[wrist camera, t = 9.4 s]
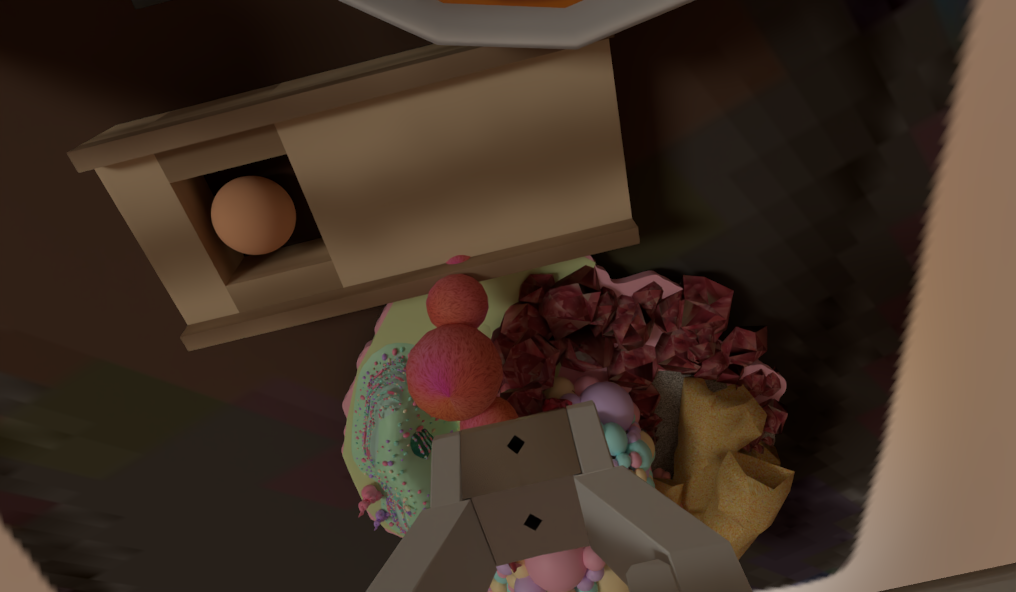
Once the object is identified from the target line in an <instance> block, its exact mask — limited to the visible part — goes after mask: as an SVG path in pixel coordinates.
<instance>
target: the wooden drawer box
mask: <svg viewBox="0 0 1016 592" xmlns="http://www.w3.org/2000/svg"><path fill="white" fill-rule="evenodd" d="M613 37H614V34H613V35H611V36H609V37H606V38H604V39H601V40H599V41H597V42H594V43H592V44H589V45H587V46H585V47H582V48H580V49H577V50H572V49H542V48H513V47H483V46H454V45H436V44H431V45H427V46H424V47H420V48H416V49H412V50H408V51H404V52H400V53H396V54H392V55H388V56H384V57H381V58H377V59H373V60H369V61H365V62H361V63H357V64H353V65H349V66H345V67H342V68H338V69H334V70H330V71H326V72H322V73H318V74H314V75H310V76H306V77H302V78H299V79H295V80H291V81H287V82H283V83H279V84H275V85H271V86H267V87H263V88H260V89H256V90H252V91H248V92H244V93H240V94H236V95H232V96H228V97H224V98H220V99H217V100H213V101H209V102H205V103H201V104H197V105H193V106H189V107H185V108H181V109H177V110H174V111H170V112H166V113H162V114H158V115H154V116H150V117H146V118H142V119H138V120H135V121H131V122H127V123H123V124H119V125H116V126H114V127H112V128H110V129H108V130H107V131H105V132H103V133H101V134H99V135H98V136H96V137H94V138H92V139H91V140H89V141H87V142H85V143H83V144H82V145H80V146H78V147H76V148H74V149H73V150H71V151H69V152H67V155H68V156H69V158H70V160H71V161H72V163H73V164H74V166H75V168H76V169H77V171H78V173H80V172H84V171H88V170H92V169H95V171H96V173H97V174H98V176H99V178H100V179H101V181H102V183H103V184H104V186H105V188H106V189H107V191H108V193H109V194H110V196H111V198H112V199H113V201H114V203H115V204H116V206H117V208H118V209H119V211H120V213H121V214H122V216H123V218H124V219H125V221H126V223H127V224H128V226H129V228H130V229H131V231H132V233H133V234H134V236H135V238H136V239H137V241H138V243H139V244H140V246H141V248H142V249H143V251H144V253H145V254H146V256H147V258H148V259H149V261H150V263H151V264H152V266H153V268H154V269H155V271H156V273H157V274H158V276H159V278H160V279H161V281H162V283H163V284H164V286H165V288H166V289H167V291H168V293H169V294H170V296H171V298H172V299H173V301H174V303H175V304H176V306H177V308H178V309H179V311H180V313H181V314H182V316H183V318H184V319H185V321H186V323H187V324H188V326H187V327H186V329H185V330H184V332H183V333H182V335H181V336H180V338H181V340H182V342H183V343H184V345H185V346H186V348H187V350H188V351H192V350H196V349H200V348H204V347H208V346H213V345H217V344H221V343H225V342H229V341H233V340H238V339H242V338H246V337H250V336H254V335H259V334H263V333H267V332H271V331H275V330H279V329H284V328H288V327H292V326H296V325H300V324H305V323H309V322H313V321H317V320H321V319H325V318H330V317H334V316H338V315H342V314H346V313H351V312H355V311H359V310H363V309H367V308H371V307H376V306H380V305H384V304H388V303H392V302H396V301H401V300H405V299H409V298H413V297H417V296H422V295H426V294H428V293H429V291H430V289H431V288H432V287H433V286H434V285H435V283H436V282H437V281H438V280H440V279H442V278H444V277H445V276H447V275H451V274H464V275H468V276H471V277H473V278H474V279H476V280H477V281H478V282H480V281H484V280H488V279H493V278H497V277H501V276H505V275H509V274H513V273H518V272H522V271H526V270H530V269H534V268H539V267H543V266H547V265H551V264H555V263H559V262H564V261H568V260H572V259H576V258H580V257H585V256H589V255H593V254H597V253H601V252H605V251H610V250H614V249H618V248H622V247H626V246H630V245H635V244H639V243H640V239H639V231H638V226H637V225H636V223H635V222H634V220H633V219H632V214H631V206H630V199H629V191H628V183H627V175H626V168H625V160H624V152H623V144H622V137H621V129H620V121H619V113H618V106H617V98H616V90H615V83H614V75H613V67H612V59H611V52H610V44H609V38H613ZM284 154H287V155H288V158H289V160H290V162H291V165H292V167H293V170H294V172H295V174H296V177H297V179H298V181H299V184H300V186H301V188H302V191H303V193H304V195H305V198H306V200H307V203H308V205H309V207H310V210H311V212H312V214H313V217H314V219H315V221H316V224H317V226H318V229H319V231H320V233H321V236H322V238H318V239H314V240H310V241H306V242H302V243H298V244H294V245H290V246H286V247H281V248H278V249H277V250H275V251H273V252H270V253H267V254H261V255H249V256H245V257H244V255H243V253H241V252H238V251H236V250H234V249H232V248H231V247H229V246H228V245H226V244H225V243H224V242H223V241H222V240H221V239H220V237H219V236H218V235H217V233H216V231H215V229H214V227H213V224H212V219H211V208H212V203H213V200H214V196H213V194H212V192H211V190H210V188H209V186H208V184H207V182H206V180H205V178H204V176H203V175H205V174H209V173H213V172H217V171H221V170H225V169H229V168H233V167H237V166H241V165H245V164H249V163H253V162H257V161H261V160H265V159H269V158H273V157H277V156H280V155H284ZM456 255H466V256H470V258H469V259H468V260H466V261H464V262H461V263H458V264H447V263H446V262H447V261H448V260H449V259H450V258H452V257H454V256H456Z"/></svg>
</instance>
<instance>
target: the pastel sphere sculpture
mask: <svg viewBox="0 0 1016 592" xmlns="http://www.w3.org/2000/svg"><path fill="white" fill-rule="evenodd" d="M469 258H470V256H466V255H456V256H454V257H452V258H450V259H449V260H448V261H447V262H446V263H447V264H458V263H461V262H464V261H466V260H468V259H469ZM733 292H734V291H733V290H731V289H729V288H727V287H725V286H722V285H720V284H718V283H716V282H714V281H712V280H710V279H708V278H706V277H699V276H688V275H683V276H682V279H681V281H680V283H679V284H678V283H675V282H673V281H671V280H669V279H668V278H666V277H664V276H661V275H659V274H658V273H656V272H655V271H651V270H650V271H645V272H641V273H638V274H635V275H632V276H628V277H625V278H621V279H610V277H609V275H608V273H607V271H606V270H605V269H604V268H603V267H601V266H599V265H596V261H595V258H594V259H593V258H592V257H591V255H589V256H585V257H580V258H576V259H572V260H568V261H564V262H559V263H555V264H551V265H547V266H543V267H539V268H534V269H530V270H526V271H522V272H518V273H513V274H509V275H505V276H501V277H497V278H493V279H488V280H484V281H480V282H478V281H477V280H476V279H474V278H473V277H471V276H468V275H464V274H451V275H447V276H445V277H444V278H442V279H440V280H438V281H437V282H436V283H435V285H434V286H433V287H432V288H431V289H430V291H429V293H428V294H426V295H422V296H417V297H413V298H409V299H405V300H401V301H396V302H392V303H388V304H387V305H386V306H385V308H384V309H383V312H382V314H381V316H380V318H379V319H378V321H377V323H376V326H375V336H374V338H373V340H371V341H369V342H367V344H366V345H365V347H364V349H363V351H362V352H361V354H360V355H359V358H358V360H357V369H358V370H357V374H356V377H355V379H354V381H353V383H352V384H351V386H350V389H349V391H348V393H347V394H346V396H345V398H344V401H343V404H342V407H343V411H344V413H345V415H346V418H347V423H346V426H345V429H344V436H345V440H344V443H343V446H342V455H343V458H344V460H345V463H346V465H347V468H348V470H349V473H350V475H351V477H352V479H353V481H354V484H355V486H356V488H357V490H358V492H359V495H360V497H361V499H362V501H361V502H360V503H359V510H360V511H361V513H360V514H359V516H362V515H363V514H364V511H365V510H367V512H368V514H369V516H370V518H371V519H372V520H374V526H375V529H374V531H375V530H376V529H377V527H378V526H379V525H380V524H381V525H382V526H383V527H384V528H385V530H386V531H387V532H389V533H393V534H395V535H397V536H399V537H402V538H403V537H404V536H405V534H406V533H407V531H408V530H409V528H410V527H411V526H412V524H413V523H414V521H415V520H416V518H417V517H418V515H419V514H420V513H421V511H422V510H425V509H429V508H430V494H431V457H432V441H433V438H434V436H436V435H441V434H447V433H452V432H457V431H461V430H463V429H468V428H473V427H478V426H483V425H488V424H493V423H498V422H502V421H507V420H512V419H516V418H520V417H524V416H528V415H532V414H537V413H541V412H545V411H549V410H553V409H558V408H562V407H565V408H566V406H569V405H573V404H577V403H581V402H585V401H590V400H592V401H593V402H594V403H595V405H596V409H597V412H598V415H599V418H600V421H601V425H602V428H603V431H604V434H605V437H606V441H607V444H608V447H609V450H610V453H611V457H612V460H613V463H614V466H615V467H616V466H621V465H623V466H625V467H626V468H627V469H629V470H630V471H632V472H633V473H634V474H636V475H637V476H639V477H640V478H641V479H643V480H644V481H646V482H647V483H648V484H650V485H651V486H653V487H654V488H655V489H657V490H658V491H660V492H661V493H662V494H664V495H665V496H666V497H668V498H669V499H671V500H672V501H673V502H675V503H676V504H678V505H679V506H680V507H682V508H683V509H685V510H686V511H687V512H689V513H690V514H692V515H693V516H694V517H696V518H697V519H699V520H700V521H701V522H703V523H704V524H705V525H707V526H708V527H710V528H711V529H712V530H714V531H715V532H717V533H718V534H719V535H721V536H722V537H724V538H725V539H726V540H728V541H729V542H730V544H731V546H732V548H733V550H734V552H735V554H736V557H737V559H738V560H739V559H740V557H741V556H742V555H743V554H744V552H745V551H746V550H747V549H748V547H749V546H750V545H751V544H752V542H753V541H754V540H755V539H756V538H757V536H758V535H759V534H760V533H762V532H763V531H764V530H766V529H767V528H768V527H769V526H771V524H772V523H773V521H774V519H775V517H776V515H777V514H778V512H779V510H780V508H781V506H782V504H783V503H784V501H785V499H786V497H787V495H788V494H789V492H790V489H791V485H792V481H793V477H794V473H795V472H794V471H791V470H788V469H785V468H782V467H780V464H781V462H780V458H779V455H778V452H777V449H776V447H774V446H773V445H774V443H775V435H774V434H782V429H783V426H784V423H785V421H786V418H787V416H788V410H787V406H785V405H783V404H782V403H780V402H779V399H780V397H781V396H782V395H783V394H784V392H785V391H786V381H785V379H784V378H783V377H782V376H781V375H780V374H779V372H778V370H777V368H776V367H774V368H770V367H769V366H768V365H766V364H764V363H762V362H761V361H759V360H758V358H759V357H760V356H762V355H763V354H764V353H765V352H766V351H767V326H740V327H735V328H734V329H733V331H732V332H731V333H730V334H729V335H728V336H727V337H726V338H725V340H724V341H721V340H720V339H719V337H720V335H721V334H722V332H723V331H725V330H727V325H728V320H729V314H730V308H731V303H732V297H733ZM566 412H567V411H566ZM496 568H497V571H496V573H495V575H494V578H493V580H492V582H491V585H490V587H489V589H488V591H487V592H629V589H628V586H627V585H626V584H625V583H624V582H623V581H622V580H621V579H620V578H619V577H618V576H617V575H616V574H615V573H614V572H613V571H612V570H611V568H610V567H609V566H608V565H607V564H606V563H605V562H604V561H603V560H602V559H601V558H600V557H599V556H598V555H597V554H596V553H595V552H594V551H593V550H592V549H591V547H590V546H587V547H582V548H577V549H571V550H566V551H561V552H556V553H550V554H545V555H540V556H536V557H532V558H528V559H524V560H520V561H516V562H512V563H508V564H504V565H500V566H496Z"/></svg>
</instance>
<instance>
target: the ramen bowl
mask: <svg viewBox="0 0 1016 592" xmlns="http://www.w3.org/2000/svg"><path fill="white" fill-rule="evenodd" d="M131 1H132V3H133V5H134V7H135V9H139V8H144V7H148V6H152V5H156V4H159V3H163V2H167V1H171V0H131ZM339 1H341V2H343V3H346V4H348V5H350V6H352V7H354V8H357V9H359V10H361V11H363V12H365V13H368V14H370V15H372V16H374V17H377V18H379V19H381V20H383V21H385V22H388V23H390V24H392V25H394V26H396V27H399V28H401V29H403V30H405V31H407V32H410V33H412V34H414V35H416V36H419V37H421V38H423V39H425V40H427V41H430V42H432V43H434V44H436V45H454V46H483V47H513V48H542V49H572V50H577V49H580V48H582V47H585V46H587V45H589V44H592V43H594V42H597V41H599V40H601V39H604V38H606V37H609V36H611V35H613V34H616V33H618V32H621V31H623V30H625V29H628V28H630V27H633V26H635V25H637V24H640V23H642V22H645V21H647V20H649V19H652V18H654V17H657V16H659V15H661V14H664V13H666V12H669V11H671V10H673V9H676V8H678V7H681V6H683V5H685V4H688V3H690V2H693V1H695V0H339Z"/></svg>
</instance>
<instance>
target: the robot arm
mask: <svg viewBox="0 0 1016 592" xmlns="http://www.w3.org/2000/svg"><path fill="white" fill-rule="evenodd" d="M566 411H567V412H566ZM587 546H590V547H591V549H592V550H593V551H594V552H595V553H596V554H597V555H598V556H599V557H600V558H601V559H602V560H603V561H604V562H605V563H606V564H607V565H608V566H609V567H610V568H611V570H612V571H613V572H614V573H615V574H616V575H617V576H618V577H619V578H620V579H621V580H622V581H623V582H624V583H625V584H626V585H627V586H628V589H629V592H752V589H751V587H750V585H749V583H748V581H747V578H746V576H745V574H744V572H743V570H742V568H741V565H740V563H739V561H738V559H737V557H736V554H735V552H734V550H733V548H732V546H731V544H730V542H729V541H728V540H726V539H725V538H724V537H722V536H721V535H719V534H718V533H717V532H715V531H714V530H712V529H711V528H710V527H708V526H707V525H705V524H704V523H703V522H701V521H700V520H699V519H697V518H696V517H694V516H693V515H692V514H690V513H689V512H687V511H686V510H685V509H683V508H682V507H680V506H679V505H678V504H676V503H675V502H673V501H672V500H671V499H669V498H668V497H666V496H665V495H664V494H662V493H661V492H660V491H658V490H657V489H655V488H654V487H653V486H651V485H650V484H648V483H647V482H646V481H644V480H643V479H641V478H640V477H639V476H637V475H636V474H634V473H633V472H632V471H630V470H629V469H627V468H626V467H625V466H623V465H621V466H616V467H615V466H614V463H613V460H612V457H611V453H610V450H609V447H608V444H607V441H606V437H605V434H604V431H603V428H602V425H601V421H600V418H599V415H598V412H597V409H596V405H595V403H594V402H593V401H592V400H590V401H585V402H581V403H577V404H573V405H569V406H566V408H565V407H562V408H558V409H553V410H549V411H545V412H541V413H537V414H532V415H528V416H524V417H520V418H516V419H512V420H507V421H502V422H498V423H493V424H488V425H483V426H478V427H473V428H468V429H463V430H461V431H457V432H452V433H447V434H441V435H436V436H434V438H433V441H432V457H431V494H430V508H429V509H425V510H422V511H421V513H420V514H419V515H418V517H417V518H416V520H415V521H414V523H413V524H412V526H411V527H410V528H409V530H408V531H407V533H406V534H405V536H404V537H403V539H402V540H401V541H400V543H399V544H398V546H397V547H396V549H395V550H394V552H393V553H392V554H391V556H390V557H389V559H388V560H387V562H386V563H385V565H384V566H383V567H382V569H381V570H380V572H379V573H378V575H377V576H376V578H375V579H374V580H373V582H372V583H371V585H370V586H369V588H368V589H367V591H366V592H487V591H488V589H489V587H490V585H491V582H492V580H493V578H494V575H495V573H496V571H497V568H496V566H500V565H504V564H508V563H512V562H516V561H520V560H524V559H528V558H532V557H536V556H540V555H545V554H550V553H556V552H561V551H566V550H571V549H577V548H582V547H587ZM880 592H1016V563H1013V564H1008V565H1003V566H998V567H994V568H988V569H984V570H979V571H974V572H969V573H965V574H960V575H955V576H951V577H946V578H941V579H937V580H932V581H927V582H922V583H918V584H913V585H908V586H903V587H899V588H894V589H889V590H885V591H880Z"/></svg>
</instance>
